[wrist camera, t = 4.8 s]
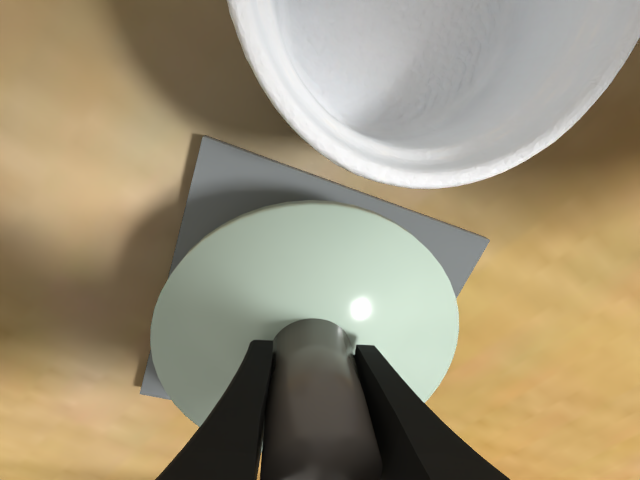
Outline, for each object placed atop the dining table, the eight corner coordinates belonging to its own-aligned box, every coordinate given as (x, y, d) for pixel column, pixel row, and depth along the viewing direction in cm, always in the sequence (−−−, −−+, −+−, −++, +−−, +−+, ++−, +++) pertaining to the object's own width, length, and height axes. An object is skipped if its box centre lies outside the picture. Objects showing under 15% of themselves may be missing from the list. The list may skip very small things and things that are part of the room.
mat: (484, 236, 13) (490, 240, 12) (372, 431, 16) (374, 438, 16) (205, 135, 11) (202, 136, 10) (143, 386, 14) (139, 393, 14)
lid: (490, 219, 10) (628, 296, 6) (411, 442, 14) (463, 584, 10) (149, 179, 9) (25, 245, 5) (162, 439, 13) (100, 604, 9)
